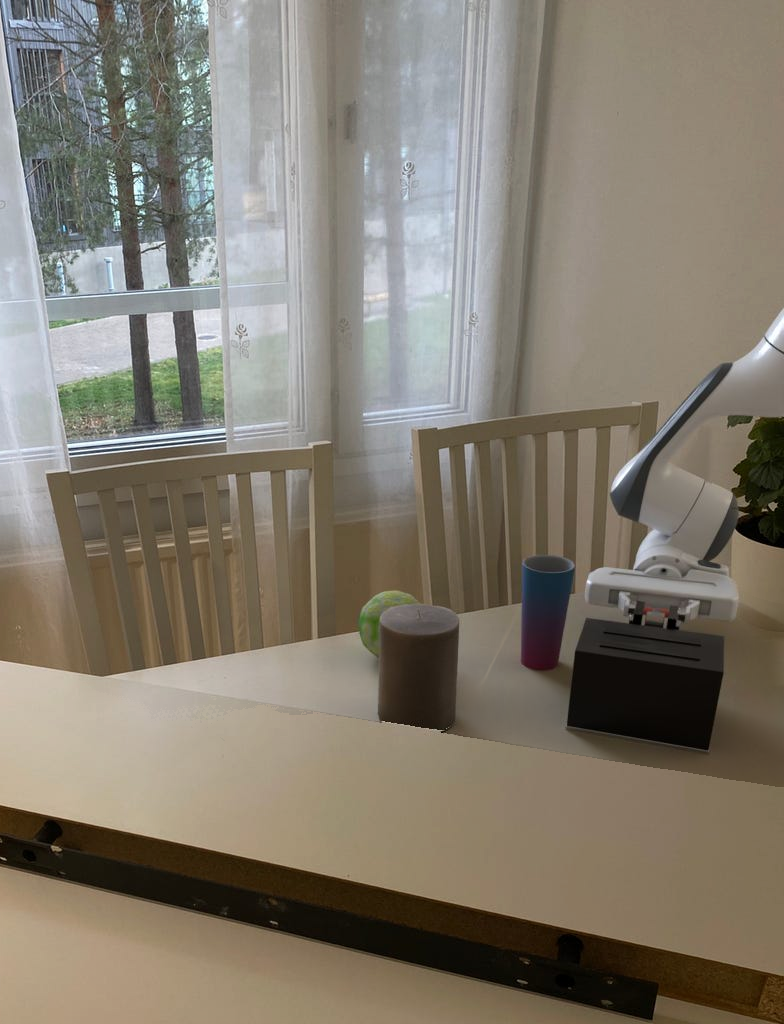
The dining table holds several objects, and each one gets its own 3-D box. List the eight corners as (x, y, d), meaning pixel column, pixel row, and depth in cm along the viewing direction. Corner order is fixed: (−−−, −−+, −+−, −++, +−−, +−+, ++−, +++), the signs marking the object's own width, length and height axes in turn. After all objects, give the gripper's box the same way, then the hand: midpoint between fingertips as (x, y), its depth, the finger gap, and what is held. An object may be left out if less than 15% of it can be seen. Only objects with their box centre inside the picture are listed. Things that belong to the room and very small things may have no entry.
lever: (634, 617, 126) (636, 600, 125) (676, 623, 124) (679, 606, 123) (629, 630, 115) (632, 612, 115) (675, 636, 113) (679, 618, 113)
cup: (505, 657, 129) (512, 558, 123) (547, 650, 131) (557, 552, 125) (530, 678, 124) (539, 575, 117) (573, 670, 125) (585, 568, 119)
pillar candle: (427, 746, 109) (431, 632, 102) (362, 720, 115) (362, 611, 108) (470, 713, 116) (476, 605, 109) (406, 691, 121) (409, 586, 115)
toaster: (709, 715, 114) (725, 634, 109) (708, 757, 105) (725, 671, 100) (576, 693, 120) (585, 616, 115) (564, 731, 111) (574, 649, 106)
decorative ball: (441, 660, 129) (444, 595, 125) (387, 680, 124) (388, 613, 120) (397, 636, 137) (398, 574, 132) (343, 654, 132) (343, 590, 127)
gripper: (592, 551, 137) (579, 584, 126) (740, 567, 130) (741, 603, 118) (587, 590, 140) (575, 625, 129) (732, 607, 133) (733, 646, 121)
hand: (656, 615), depth 123 cm, fingers closed on lever, 5 cm apart
